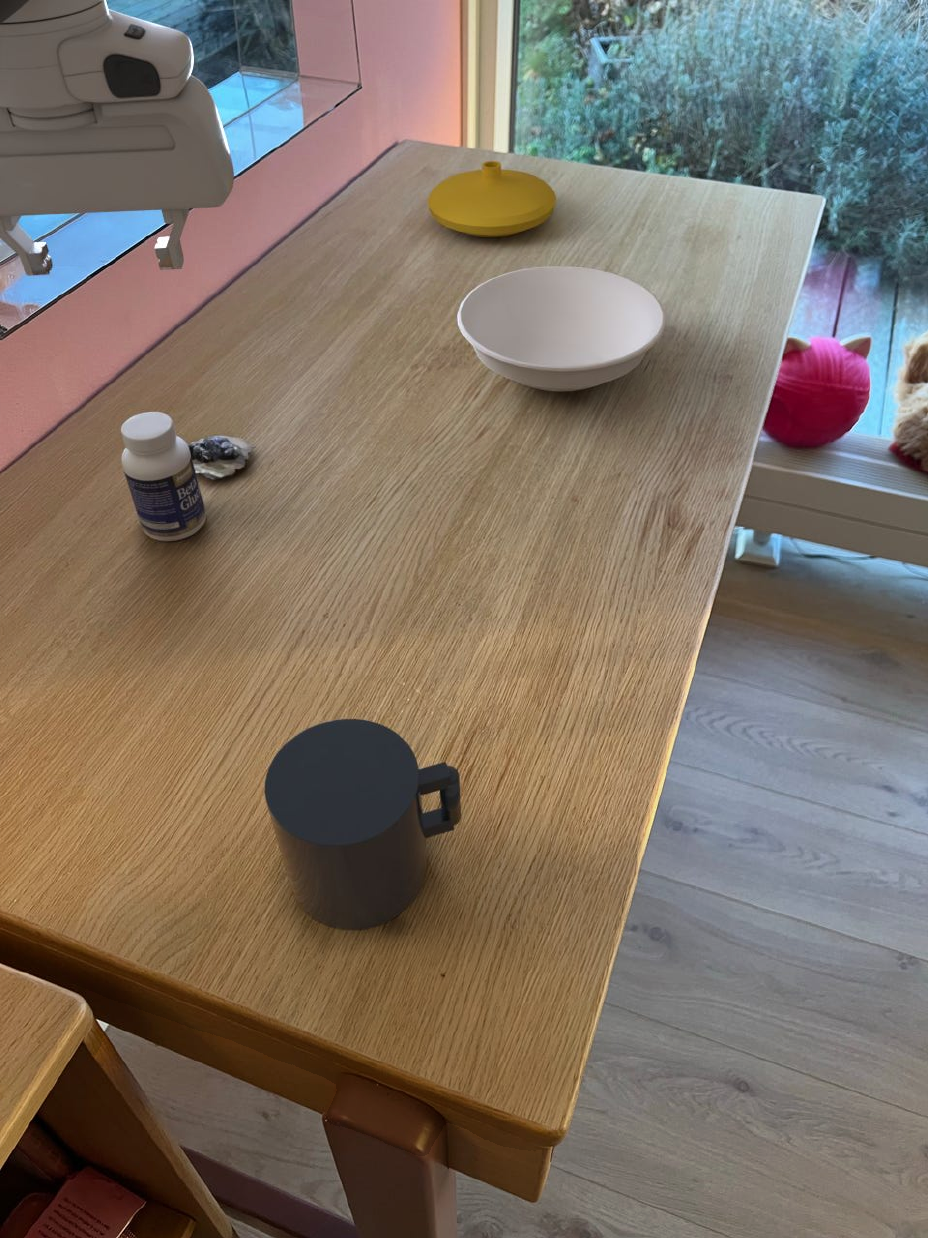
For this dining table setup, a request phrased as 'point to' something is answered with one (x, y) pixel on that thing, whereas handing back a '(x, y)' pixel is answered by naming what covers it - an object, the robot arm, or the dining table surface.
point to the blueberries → (219, 455)
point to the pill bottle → (161, 477)
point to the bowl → (561, 326)
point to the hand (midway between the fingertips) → (106, 268)
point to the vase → (491, 201)
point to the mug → (356, 820)
